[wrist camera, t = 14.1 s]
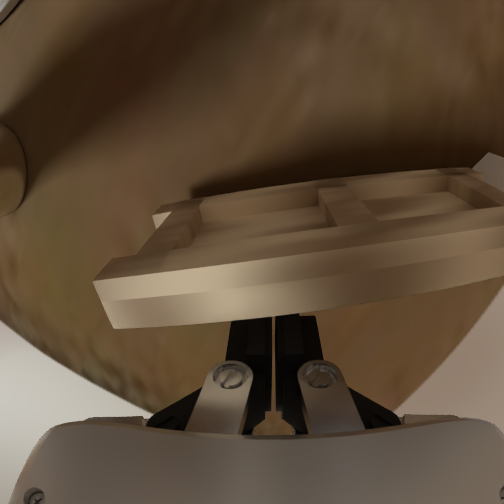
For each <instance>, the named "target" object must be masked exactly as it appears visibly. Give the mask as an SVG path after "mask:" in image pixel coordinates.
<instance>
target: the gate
mask: <svg viewBox="0 0 504 504" xmlns="http://www.w3.org/2000/svg"><path fill="white" fill-rule="evenodd" d="M152 216H153V219H154V223H155V226H156V231H155V232H154V233H153V235H152V236H151V237H150V238H149V239H148V241H147V242H146V243H145V244H144V246H143V247H142V248H141V249H140V251H139V252H138V253H137V254H136V255H133V256H126V257H120V258H113V259H111V260H110V261H109V263H108V264H107V265H106V266H105V267H104V268H103V269H102V271H101V272H100V273H99V274H98V275H97V276H96V278H95V279H94V280H93V283H94V286H95V288H96V290H97V293H98V295H99V297H100V300H101V302H102V304H103V306H104V309H105V311H106V313H107V315H108V317H109V320H110V322H111V324H112V326H113V328H114V329H121V328H142V327H159V326H174V325H188V324H201V323H212V322H223V321H234V320H244V319H253V318H262V317H271V316H280V315H288V314H296V313H303V312H311V311H318V310H325V309H332V308H339V307H346V306H352V305H358V304H365V303H371V302H377V301H383V300H388V299H394V298H400V297H405V296H411V295H416V294H421V293H426V292H431V291H436V290H441V289H446V288H451V287H456V286H460V285H465V284H469V283H474V282H478V281H483V280H487V279H491V278H495V277H499V276H504V192H503V191H501V190H499V189H497V188H495V187H493V186H491V185H489V184H487V183H485V182H483V174H482V173H480V172H478V171H475V170H473V169H471V168H468V167H466V168H439V169H431V170H417V171H404V172H393V173H382V174H371V175H361V176H352V177H343V178H339V177H338V178H329V179H321V180H313V181H309V182H302V183H294V184H287V185H279V186H272V187H266V188H259V189H252V190H246V191H239V192H233V193H227V194H221V195H215V196H209V197H201V198H195V199H189V200H184V201H180V202H176V203H171V204H166V205H162V206H161V207H160V208H159V209H158V210H157V211H156V212H155V213H154V214H153V215H152Z"/></svg>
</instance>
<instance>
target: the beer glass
mask: <svg viewBox="0 0 504 504" xmlns="http://www.w3.org/2000/svg"><path fill="white" fill-rule="evenodd" d="M26 182H27V168H26V161H25V156H24V152H23V149H22V147H21V144H20V142H19V140H18V139H17V137H16V135H15V134H14V133H13V132H12V131H11V130H10V129H9V128H8V127H6V126H4V125H1V124H0V218H2V217H4V216H7V215H9V214H11V213H12V212H14V211H15V210H16V209H17V207H18V206H19V205H20V203H21V201H22V199H23V196H24V193H25V189H26Z"/></svg>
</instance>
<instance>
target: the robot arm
mask: <svg viewBox="0 0 504 504" xmlns="http://www.w3.org/2000/svg"><path fill="white" fill-rule="evenodd" d="M18 2H19V0H0V22H1V21H2V20H3V19H4V18H5V17H6V16H7V15H8V14H9V12H10V11H11V10H12V9H13V8H14V7H15V5H16V4H17V3H18ZM275 379H276V411H281V412H282V419H283V420H285V421H286V422H287V423H289V424H290V425H291V426H292V434H293V435H254V434H255V426H256V425H258V424H259V423H261V422H262V421H263V420H265V411H271V391H272V316H271V317H262V318H253V319H244V320H234V321H231V327H230V333H229V340H228V346H227V353H226V359H225V361H224V362H221V363H218V364H216V365H215V366H214V367H212V368H211V370H210V371H209V373H208V376H207V378H206V380H205V383H204V385H203V387H201V388H200V389H198V390H196V391H195V392H193V393H191V394H189V395H188V396H186V397H184V398H183V399H181V400H179V401H177V402H175V403H174V404H172V405H170V406H168V407H167V408H165V409H163V410H161V411H159V412H157V413H156V414H154V415H153V416H152V417H151V418H150V419H144V418H143V416H133V417H93V418H88V419H86V420H84V421H76V422H68V423H64V424H60V425H57V426H55V427H52V428H51V429H49V430H48V431H47V432H46V433H45V434H44V435H43V436H42V437H41V438H40V439H39V441H38V442H37V444H36V446H35V447H34V449H33V450H32V452H31V454H30V455H29V457H28V459H27V461H26V463H25V465H24V467H23V469H22V472H21V474H20V476H19V478H18V480H17V483H16V485H15V488H14V490H13V493H12V496H11V498H10V501H9V504H504V434H503V432H502V431H501V430H500V429H499V428H498V427H497V426H495V425H494V424H492V423H490V422H487V421H484V420H480V419H473V418H459V417H457V416H454V415H411V414H405V415H404V416H403V417H398V416H397V415H396V414H394V413H393V412H392V411H390V410H388V409H386V408H384V407H383V406H381V405H379V404H377V403H375V402H374V401H372V400H370V399H368V398H367V397H365V396H363V395H361V394H360V393H358V392H356V391H354V390H353V389H351V388H349V387H347V384H346V382H345V380H344V377H343V375H342V373H341V371H340V369H339V368H338V367H337V366H336V365H335V364H333V363H331V362H328V361H324V360H323V354H322V349H321V343H320V338H319V332H318V327H317V322H316V317H315V316H299V313H296V314H288V315H280V316H275Z"/></svg>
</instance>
